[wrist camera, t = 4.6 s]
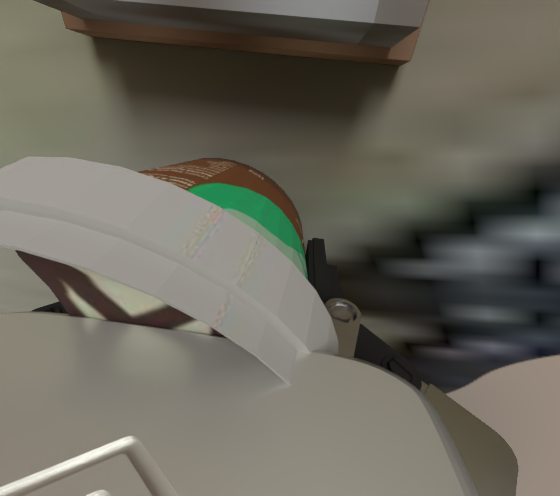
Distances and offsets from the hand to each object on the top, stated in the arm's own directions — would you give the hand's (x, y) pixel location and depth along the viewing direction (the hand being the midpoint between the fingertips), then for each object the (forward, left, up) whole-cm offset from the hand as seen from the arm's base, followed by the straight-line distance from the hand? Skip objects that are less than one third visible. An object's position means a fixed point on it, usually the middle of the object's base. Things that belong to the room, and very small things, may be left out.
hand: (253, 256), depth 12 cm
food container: (-1, 0, -2) cm, 3 cm away
